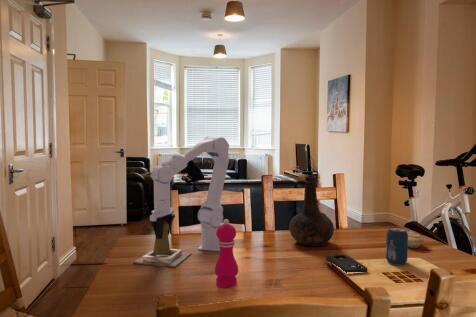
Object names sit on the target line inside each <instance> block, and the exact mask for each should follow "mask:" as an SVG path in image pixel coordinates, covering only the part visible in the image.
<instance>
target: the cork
mask: <svg viewBox="0 0 476 317" xmlns="http://www.w3.org/2000/svg"><path fill="white" fill-rule="evenodd" d="M168 230H169V224H168V223H167V222H165V224H164V228H163V237H162V239H156V236H154V246H153V250H154V251H153V253H154V254H156V255H165V254H169V253H170V249H171V248H170V239H169V235H168Z"/></svg>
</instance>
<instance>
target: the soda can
mask: <svg viewBox="0 0 476 317" xmlns="http://www.w3.org/2000/svg"><path fill="white" fill-rule="evenodd" d="M406 231H407V229H406V228H404V227H397V226H390V227H388V230H387V231H386V237H385V238H386V242H385V243H386V245H385V259H386V261H387V263H388V264H391V265H393V266H404V265H406V263H407V262H408V251H409V250H408V248H409V247H408V234H407V232H406Z"/></svg>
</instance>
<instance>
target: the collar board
mask: <svg viewBox="0 0 476 317" xmlns="http://www.w3.org/2000/svg"><path fill="white" fill-rule="evenodd" d="M153 251H154V249H152V250H150V251H148V252H147V253H145V254H143V255H142V256H141V257H139V258H137V259H135V260H134V261H133V264H134V265H135V264H137V265H145V266H152V267H164V268H174V269H176V268H177V267H178V266H179V265H180V264H181V263H183V262H184V261H185V260H186V259H188V258H189V257H190V256H191V255H192V253H191V252H183V249H177V248H170V253H169V254H165V255H156V254H154V253H153Z"/></svg>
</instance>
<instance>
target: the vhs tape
mask: <svg viewBox="0 0 476 317" xmlns="http://www.w3.org/2000/svg"><path fill="white" fill-rule="evenodd" d="M325 260H326V261H327V262H328V263H329V262H331V263H333V264H335V265H336V266H338V267H340V268H341V269H342V270H343V271H345V272H346V273H347V272H367V273H368V267H367V266H366V265H363V263H361V262H359V261H357V260H356V259H354V258H352V257H351V256H350V255H347V254H337V255H335V254H333V255H325ZM331 263H330V264H331ZM358 265H359V266H360V267H362V268H360V267H359V266H358Z"/></svg>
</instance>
